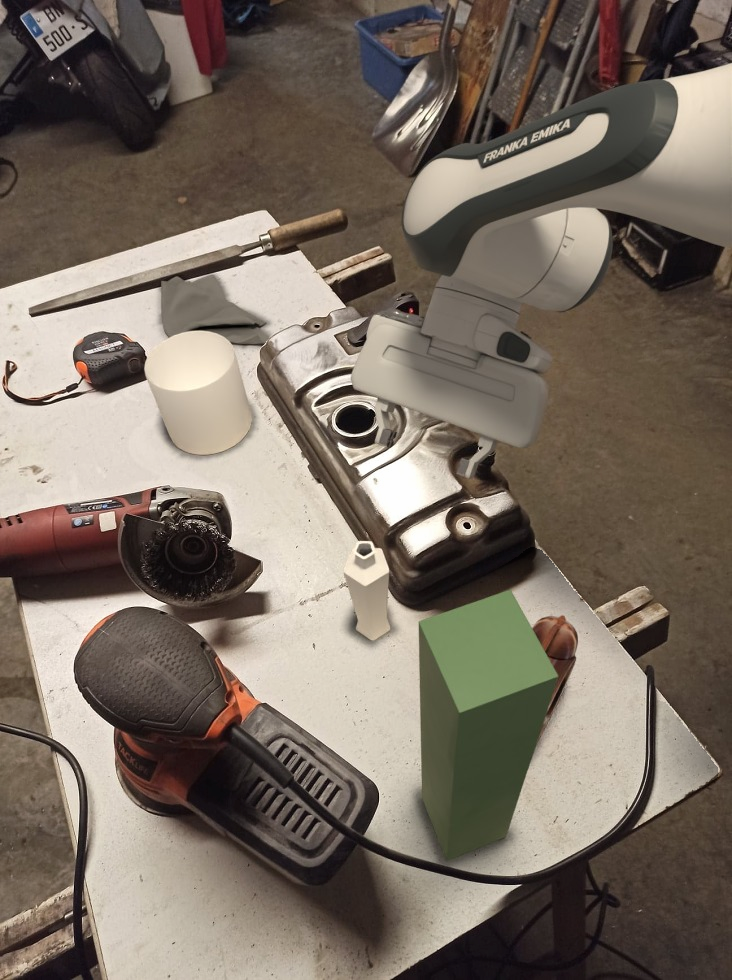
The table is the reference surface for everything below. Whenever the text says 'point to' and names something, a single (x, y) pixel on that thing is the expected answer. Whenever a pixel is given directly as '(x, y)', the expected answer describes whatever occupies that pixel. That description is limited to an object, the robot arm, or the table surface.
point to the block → (479, 717)
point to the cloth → (206, 311)
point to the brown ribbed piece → (557, 653)
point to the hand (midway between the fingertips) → (422, 460)
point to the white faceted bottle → (368, 588)
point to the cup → (199, 391)
